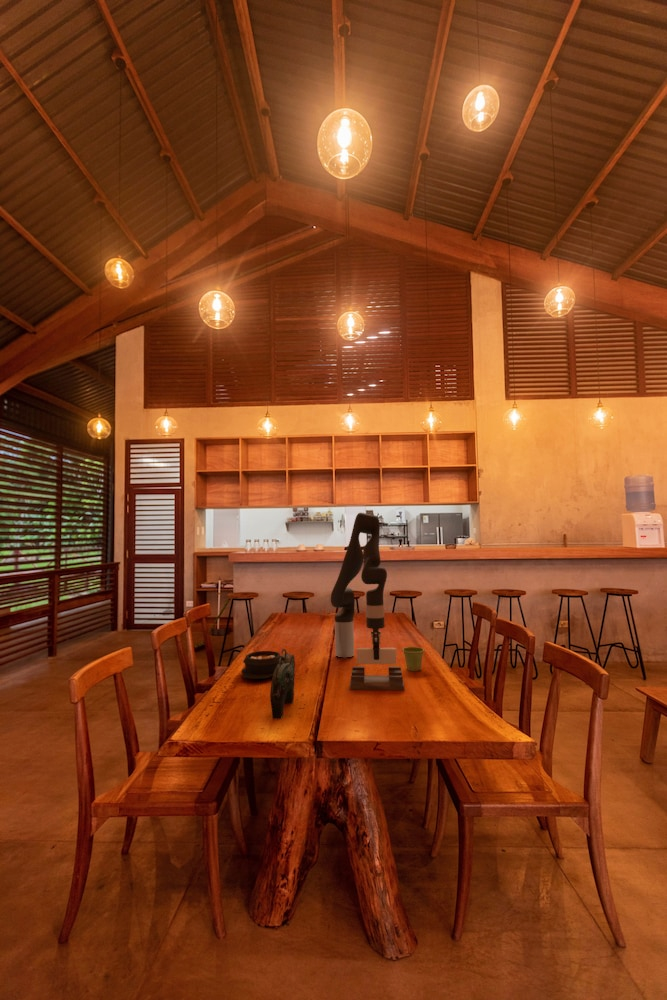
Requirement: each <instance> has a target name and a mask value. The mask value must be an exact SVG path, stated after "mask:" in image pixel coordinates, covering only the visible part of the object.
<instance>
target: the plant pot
mask: <svg viewBox="0 0 667 1000" xmlns="http://www.w3.org/2000/svg"><path fill="white" fill-rule="evenodd" d="M402 651H403V654H404V658H405V659H404V660H405V664H406V669H407V670H408V671H411V672H417V671H421V670H422V663H423V662H422V660H423V655H424V651H425V649H424V648H422V647H417V646H407V647H406V646H405V647H404V648H402Z"/></svg>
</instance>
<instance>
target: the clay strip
mask: <svg viewBox="0 0 667 1000" xmlns="http://www.w3.org/2000/svg"><path fill="white" fill-rule="evenodd" d="M379 648H380V649H379V660H374V650H373V647H356V664H357V665H397V648H396V647H379Z"/></svg>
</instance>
